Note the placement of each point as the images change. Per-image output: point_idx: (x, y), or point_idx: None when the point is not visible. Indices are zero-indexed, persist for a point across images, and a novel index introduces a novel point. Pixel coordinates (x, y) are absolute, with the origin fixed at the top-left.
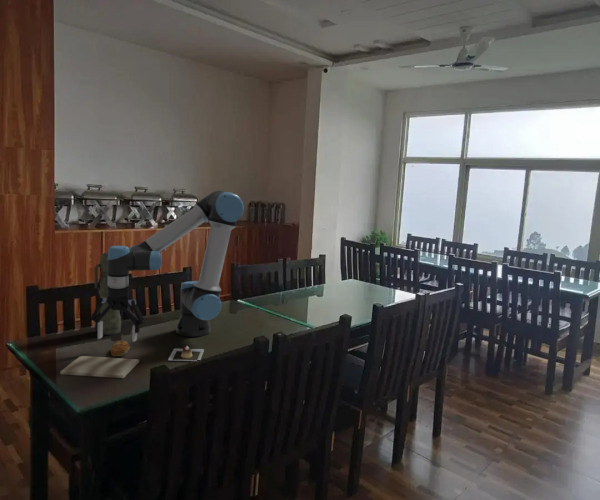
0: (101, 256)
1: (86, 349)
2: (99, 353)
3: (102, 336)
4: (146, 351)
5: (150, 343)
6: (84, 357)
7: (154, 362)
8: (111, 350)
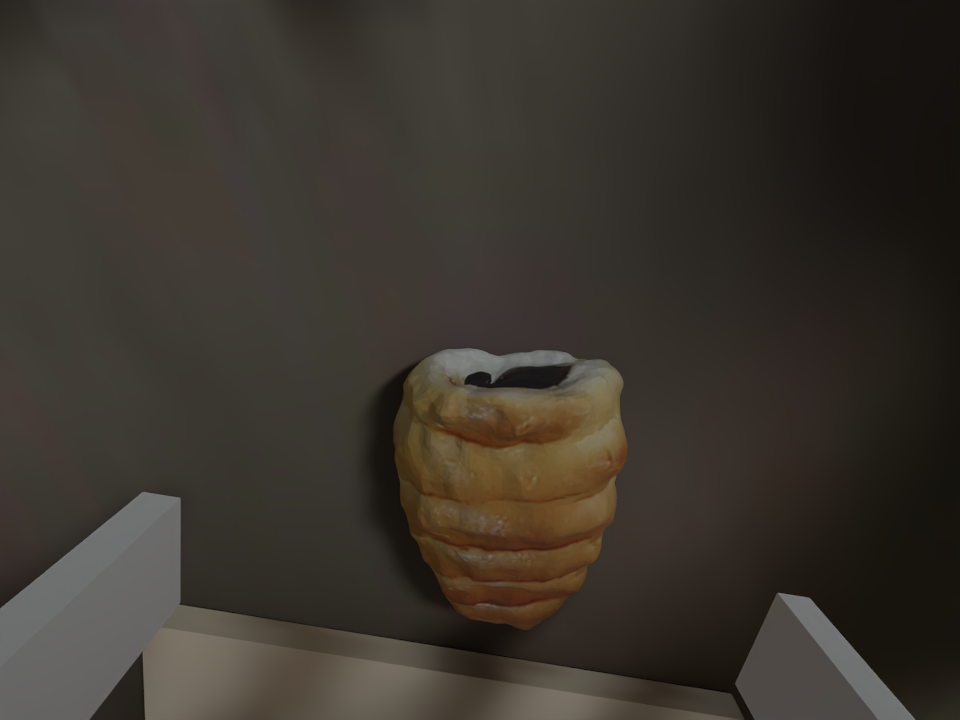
0: None
1: (85, 367)
2: (290, 488)
3: (173, 507)
4: (816, 449)
5: (895, 151)
6: (200, 660)
7: None
8: (426, 560)
